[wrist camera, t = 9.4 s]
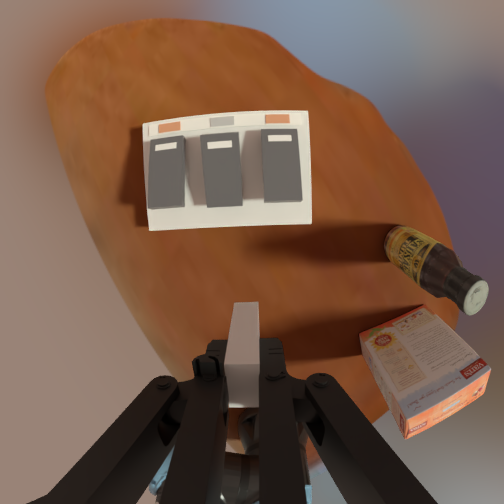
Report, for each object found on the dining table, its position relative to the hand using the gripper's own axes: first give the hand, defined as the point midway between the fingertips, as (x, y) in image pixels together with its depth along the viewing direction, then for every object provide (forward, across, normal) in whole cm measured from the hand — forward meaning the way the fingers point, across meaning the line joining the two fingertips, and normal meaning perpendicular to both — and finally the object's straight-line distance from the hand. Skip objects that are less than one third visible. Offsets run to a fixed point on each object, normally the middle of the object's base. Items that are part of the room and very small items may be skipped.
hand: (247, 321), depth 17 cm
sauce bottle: (+23, -23, +1) cm, 33 cm away
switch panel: (+23, +3, -11) cm, 25 cm away
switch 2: (+18, -4, -11) cm, 21 cm away
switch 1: (+18, +10, -11) cm, 23 cm away
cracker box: (+24, -25, +16) cm, 38 cm away
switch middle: (+18, +3, -11) cm, 21 cm away
